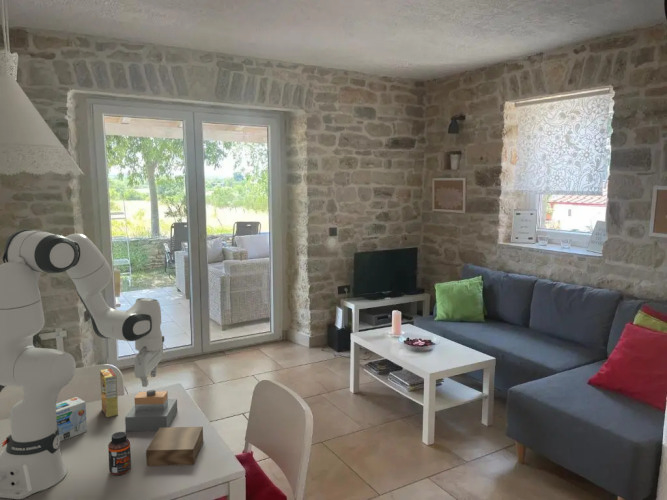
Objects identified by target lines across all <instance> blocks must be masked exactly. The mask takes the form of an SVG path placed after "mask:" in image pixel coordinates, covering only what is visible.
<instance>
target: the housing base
mask: <svg viewBox="0 0 667 500" xmlns="http://www.w3.org/2000/svg"><path fill="white" fill-rule="evenodd" d="M168 399H169V397H168V398H167V400H166V401H165V403H164V404H135V403H134V405H135V411H164V410H165V408H166V407H167V405H168Z"/></svg>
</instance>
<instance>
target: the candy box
mask: <svg viewBox="0 0 667 500" xmlns="http://www.w3.org/2000/svg"><path fill="white" fill-rule="evenodd" d="M99 375H100V394H101V396H100V397H101V409H102V411H103V413H104V414H105V417H106V418H110V417H114V416H118V415H119V406H118V405H119V402H118V384H117V383H118V381H117V380H118V378H117V377H118V376H117V375H116V373H115V372H114V370H113V369H112V368H104V369H100V370H99Z"/></svg>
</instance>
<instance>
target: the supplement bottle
mask: <svg viewBox="0 0 667 500" xmlns="http://www.w3.org/2000/svg"><path fill="white" fill-rule="evenodd" d="M110 440H111V441H110V442H108V447H107V448H108V452H107V453H108V469H109V470H108V471H109V474H111V475H112V476H122V475H125V474H127V473H128V472H129V471H130V470H131V468H132V457H131V455H132V454H131V453H132V452H131V441H130V439H129V438H127V433H126V432H125V431H118V432H117V431H116V432H115V433H113V434H112V435H111V438H110Z"/></svg>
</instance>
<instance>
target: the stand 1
mask: <svg viewBox="0 0 667 500" xmlns="http://www.w3.org/2000/svg"><path fill="white" fill-rule="evenodd" d="M177 414H178V398H168V405H167V407H166V408H165V410H164V411H135V404H134V405H133V406H132V408H131V409H130V410H129V412H128V413H127V414H126V415H125V417H124V424H125V431H126V432H135V431H138V432H140V431H158V430H159V428H165V427H170V425H171V424H172V422H173V421H174V418H175V417H176V415H177Z"/></svg>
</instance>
